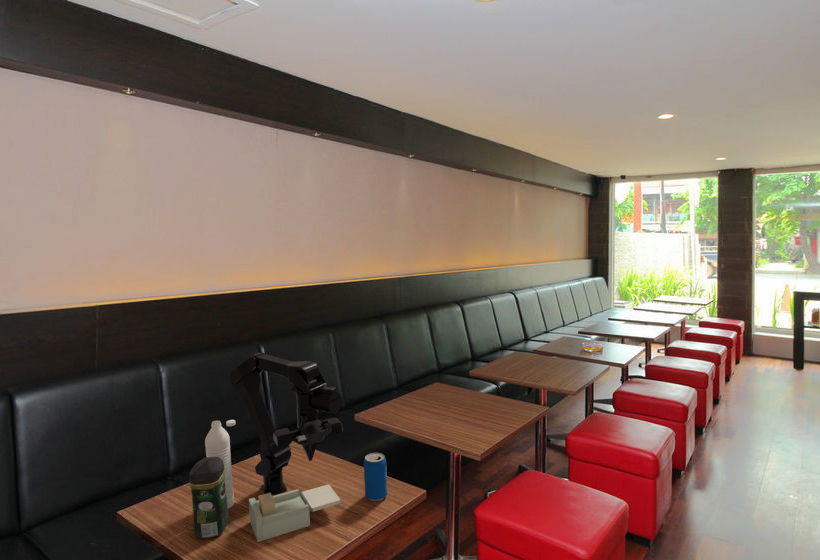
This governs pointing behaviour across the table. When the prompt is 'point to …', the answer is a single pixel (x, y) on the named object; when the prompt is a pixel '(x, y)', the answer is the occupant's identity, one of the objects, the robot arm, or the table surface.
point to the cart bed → (279, 516)
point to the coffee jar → (209, 497)
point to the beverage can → (375, 476)
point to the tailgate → (320, 498)
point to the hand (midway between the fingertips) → (310, 460)
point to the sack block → (266, 505)
